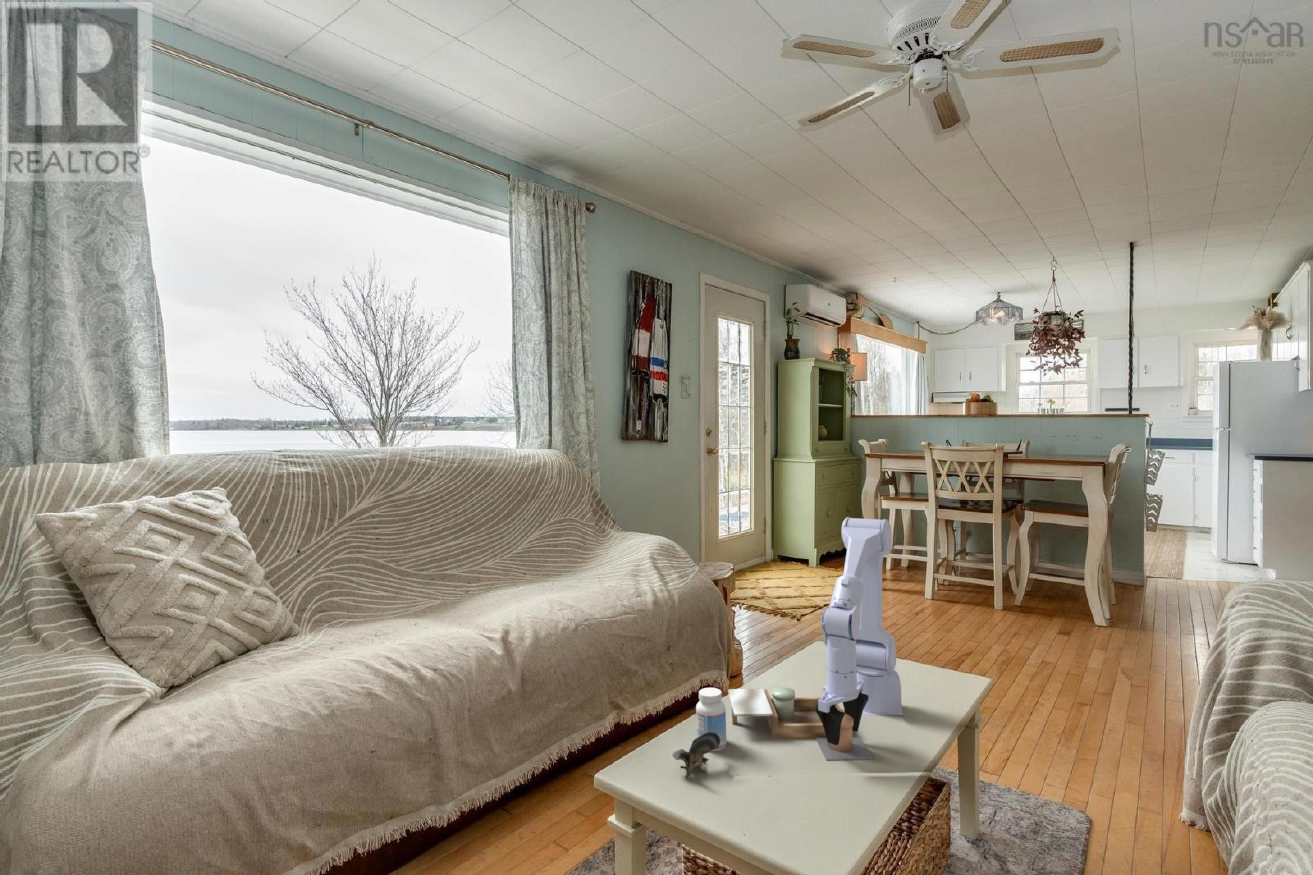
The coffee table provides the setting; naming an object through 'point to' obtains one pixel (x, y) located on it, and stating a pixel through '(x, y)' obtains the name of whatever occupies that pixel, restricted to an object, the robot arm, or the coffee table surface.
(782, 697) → the mint green knob
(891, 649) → the robot arm
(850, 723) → the peach rounded knob
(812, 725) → the cold frame
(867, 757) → the slate tile
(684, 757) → the squirrel figurine
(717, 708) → the pill bottle
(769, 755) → the coffee table surface
